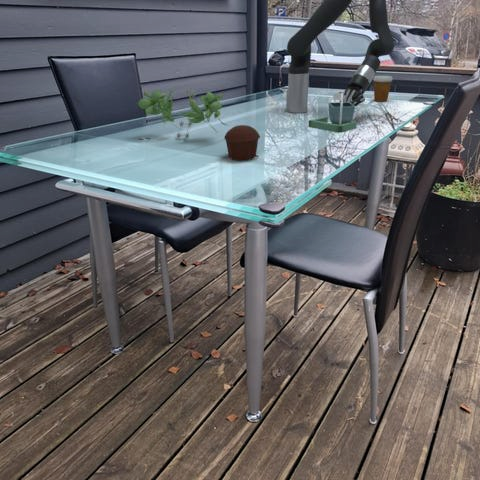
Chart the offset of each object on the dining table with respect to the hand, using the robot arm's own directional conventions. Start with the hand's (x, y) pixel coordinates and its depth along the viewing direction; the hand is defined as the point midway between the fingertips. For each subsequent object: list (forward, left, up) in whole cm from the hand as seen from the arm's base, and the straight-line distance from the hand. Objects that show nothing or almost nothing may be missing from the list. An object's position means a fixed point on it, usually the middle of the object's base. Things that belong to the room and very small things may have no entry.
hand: (341, 113), depth 189 cm
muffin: (+6, -60, -4) cm, 60 cm away
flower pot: (+3, -4, -4) cm, 7 cm away
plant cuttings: (-30, -56, -4) cm, 63 cm away
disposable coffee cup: (-18, +57, -4) cm, 60 cm away
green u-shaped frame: (+1, -7, -4) cm, 8 cm away
